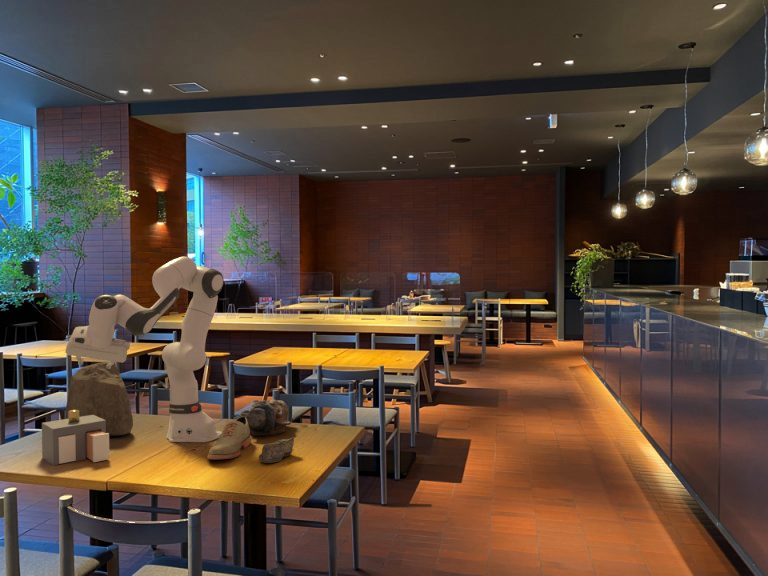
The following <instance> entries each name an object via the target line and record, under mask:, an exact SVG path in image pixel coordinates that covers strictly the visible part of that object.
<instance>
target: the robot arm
mask: <svg viewBox="0 0 768 576" xmlns="http://www.w3.org/2000/svg"><path fill="white" fill-rule="evenodd" d="M223 275H224V274H223V273H222V272H220V271H219V270H217V269H215V268H209V267H205V266H204V265H203V266H202V265H201V266H200V265H199V266H198V265H197V264H196V262H195V261H194V259H192V258H191V257H188V256H180V257H178V258H174V259H172V260H170V261H168V262H167V263H164V264H163V265H161V266H160V267H158V268H157V269H156V270H155V271H154V272H153V275H152V279H151V280H152V281H151V282H152V286H153V288H154V291H155V292H156V293H157V295H158V296H159V297H160V298H159V299H158V300H157V301H155V303H154V304H153V305H152V306H151V307H149V308H147V307H144V306H142V305H140V304H139V303H138V302H135V301H134V300H133V299H131V298H129V297H128V296H126V295H124V294H120V293H119V294H115V295H109V294H102V295H100V296H97V297H96V298H95V299H94V301H93V303H92V306H91V308H90V311H89V316H88V323H89V324H88V325H85V326H75V328H74V329H73V331H72V333H71V335H70V337H69V339H68V342H67V345H66V348H65V354H66V355H67V356H73V357H75V359H76V360H77V362H78V363H77V365H79V366H83V364H84V361H85V359H84V358H88V359H94V360H101V361H106V362H107V361H108V362H107V366H106V368H107V369H110V368H111V366H112V365H113V364H114V363H115V364H116V363H124V362H126V361H127V357H128V351H129V350H130V347H131V343H130V342H128V341H127V340H125V339H119V338H114V336H115V332H116V331H115V326H116V325H119V326H121V327H122V328H124V329H125V330H126V331H128V333H130V334H132V335H133V336H135V337H139V336H140V337H141V336H144V335H147V334H149V333H150V332H151V330H152V329H153V328H154V326H155V325H156V323H157V322H158V321H159V320H160V319H161V318H162V317H163V316H164V315H165V314H166V313H167V312H168V311H169V310H170V309H171V307H172V306H173V305H174V304H175V303H176V302H177V300H178V299H179V296H180V289H182V290H185V291H186V290H187V291H189V292H193V293H192V294H193V295H192V298H191V300H190V302H189V304H188V306H187V310H185V311H186V312H185V314H184V317H183V320H182V322H181V324H180V328H181V336H180V337H181V338H180V341H175V342H171V343H169V344H167V345H166V346H165V347H164V348H162V349H163V350H162V352H161V358H162V361H163V362H164V365H165V368H166V369H165V370H166V373H167V377H168V381H169V383H168V384H169V401H170V402H169V403H168V412H169V423H168V429H167V430H168V431H167V434H166V436H165V438H166V439H167V440H168V441H169V443H171V442H172V443H209V442H211V441H214V440H218V439H219V437H220V436H221V434H222V432H223V431H220V430H217V426H216V425H217V424H216V422H215V420H214V419H213V418H212V417H210V416H209V414H207V413H205V412H204V411H203V408H202V407H204V403H200V401H199V395H198V394H199V384H198V381H197V379H196V377H195V373H194V371H198V370H200V369H201V368H203V367H204V365H206V362H207V353H206V339H207V336H208V331H209V329H210V327H211V324H212V321H213V318H214V315H215V312H216V310H217V309H216V308H217V306H218V305H217V303H218V300H219V299H218V298H219V296H218V295H219V293H220V292H221V291H222V290H223V289H222V288H223V287H224V282H225V280H224V276H223ZM109 362H110V363H109Z"/></svg>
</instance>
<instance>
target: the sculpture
mask: <svg viewBox="0 0 768 576" xmlns="http://www.w3.org/2000/svg"><path fill="white" fill-rule="evenodd" d="M289 412H290V407H289V406H288V404H287V403H286V402H285V401H284V400H276V399H273V398H272V399H270V400H269V401H267V400H265V399H264V400H263V399H261V400H258V401H256V402H254V403H253V404H251V407H250V409H246V410H243V411H241V412H240V414H239V415H240V417H241V416H245V417H246V419H247V422H248V425H249V428H250V434H249V435H250V436H252V437H257V438H265V437H269V436H270V437H271V436H275V435H280V434H283V433H284V432H286V427H287V426H290V425H291V424H292V423H291V421H289Z"/></svg>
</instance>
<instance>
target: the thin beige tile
mask: <svg viewBox="0 0 768 576" xmlns="http://www.w3.org/2000/svg"><path fill="white" fill-rule="evenodd" d="M70 462H77V461H76V443H75V434H73V435H72V434H70V435H64V436H59V437H58V465H59V464H60V465H61V464H65V463H70Z"/></svg>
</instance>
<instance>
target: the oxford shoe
mask: <svg viewBox="0 0 768 576" xmlns="http://www.w3.org/2000/svg"><path fill="white" fill-rule="evenodd" d="M221 432H222V434H221V436H220V437H219V438H217V439H216V442H214V444H213V445H212V446H211V447H210V449H209V450H208V454H207V459H208V460H214V461H215V460H217V461H218V460H228V459H235V458H237V457H239V456H240V455H241V449H246V448H247V447H248V446H250V445H251V443H252V439H251V438H252V437H251V434H250V428H249V425H248V422H247V419H246V417H245V416H241V415H240V416H239V417H238V418H236V420H231V421H229V422H227V423H226V425H225V426H224V429H223V430H222V431H221Z"/></svg>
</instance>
